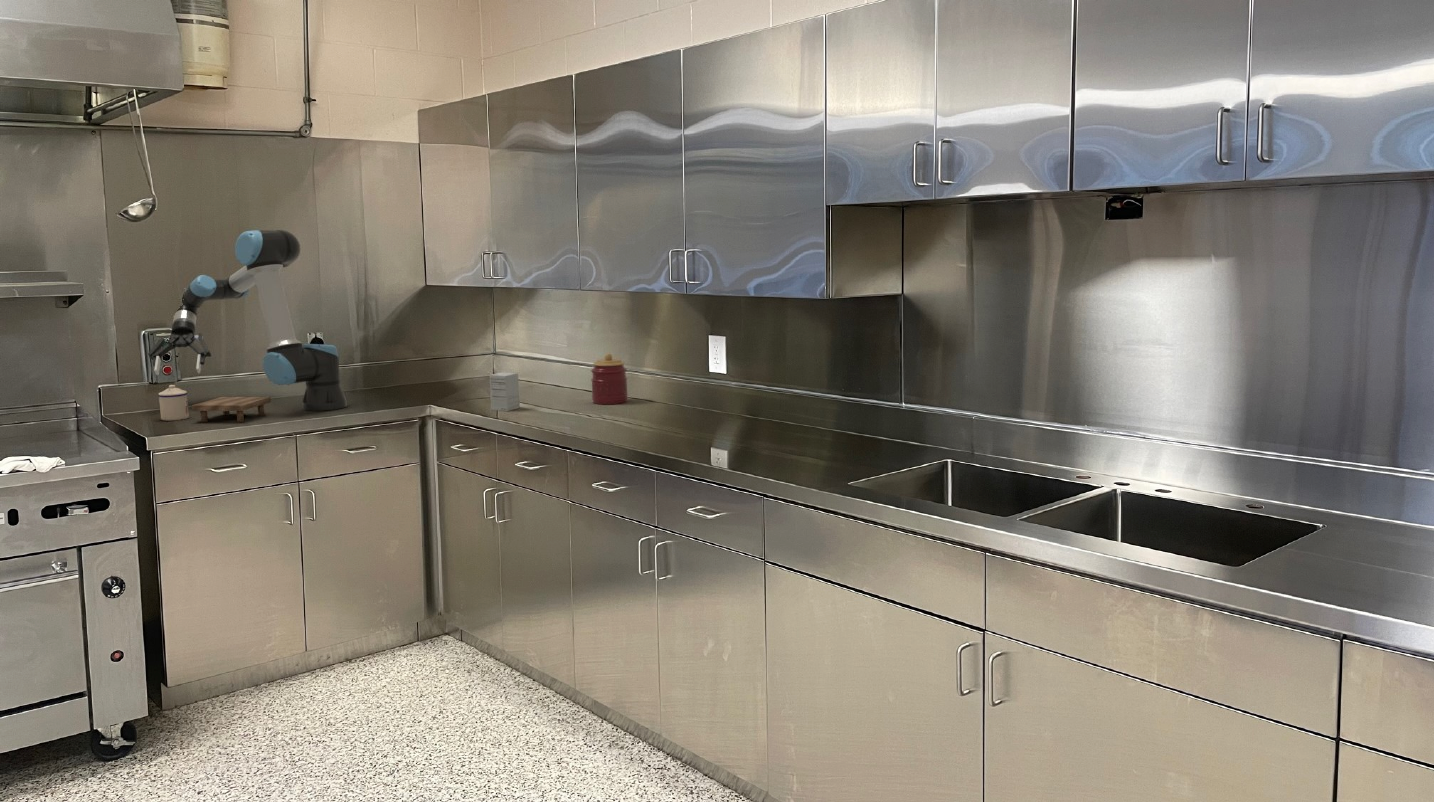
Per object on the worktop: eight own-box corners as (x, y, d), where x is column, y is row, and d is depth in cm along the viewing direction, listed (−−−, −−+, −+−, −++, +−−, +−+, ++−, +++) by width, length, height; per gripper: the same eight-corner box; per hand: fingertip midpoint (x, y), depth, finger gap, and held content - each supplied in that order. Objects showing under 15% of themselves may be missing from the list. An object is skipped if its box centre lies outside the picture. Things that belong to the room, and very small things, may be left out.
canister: (630, 399, 392) (629, 351, 389) (624, 404, 379) (622, 355, 376) (596, 399, 393) (594, 351, 390) (588, 404, 380) (586, 355, 377)
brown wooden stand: (272, 413, 373) (270, 396, 372) (243, 423, 355) (242, 405, 354) (223, 413, 375) (222, 396, 374) (193, 422, 358) (191, 405, 357)
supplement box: (503, 407, 379) (501, 371, 377) (520, 408, 376) (518, 372, 374) (490, 410, 373) (488, 374, 371) (507, 411, 369) (505, 375, 367)
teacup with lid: (193, 418, 367) (190, 384, 365) (165, 422, 361) (162, 388, 359) (181, 414, 375) (178, 381, 373) (153, 417, 369) (150, 384, 367)
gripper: (223, 331, 393) (217, 376, 381) (149, 333, 388) (141, 379, 376) (218, 317, 387) (213, 363, 375) (143, 320, 382) (135, 366, 370)
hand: (177, 371), depth 376 cm, fingers open, 13 cm apart
